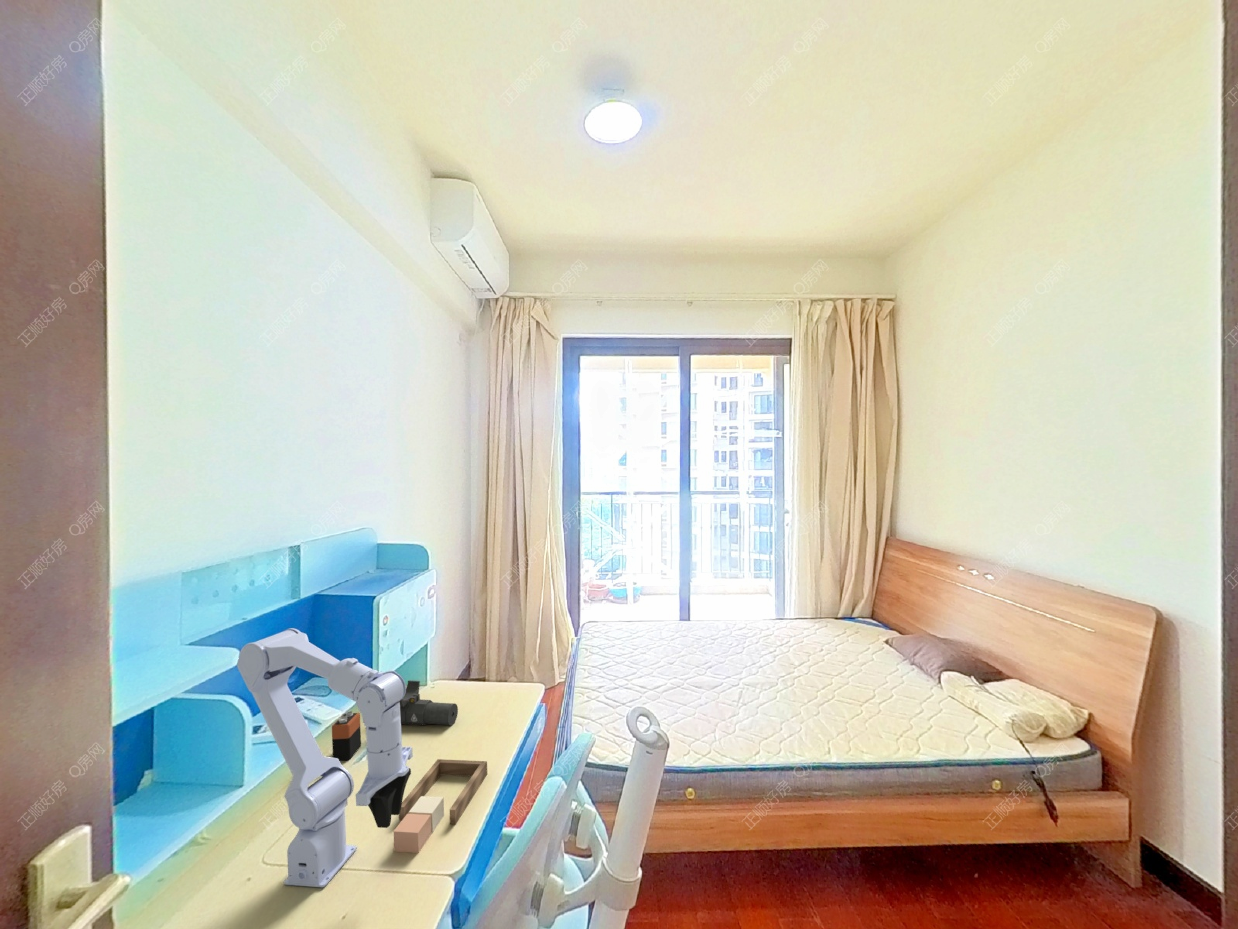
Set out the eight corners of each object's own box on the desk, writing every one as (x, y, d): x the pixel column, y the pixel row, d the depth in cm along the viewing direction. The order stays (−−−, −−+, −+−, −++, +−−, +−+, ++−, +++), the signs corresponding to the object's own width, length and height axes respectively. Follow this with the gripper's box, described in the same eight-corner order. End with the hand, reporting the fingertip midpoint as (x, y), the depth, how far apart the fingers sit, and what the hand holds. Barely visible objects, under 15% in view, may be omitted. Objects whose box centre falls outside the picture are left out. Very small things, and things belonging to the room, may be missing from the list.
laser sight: (444, 734, 143) (443, 698, 143) (371, 729, 147) (370, 694, 147) (461, 716, 153) (460, 682, 153) (392, 712, 157) (391, 679, 157)
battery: (332, 762, 131) (330, 722, 131) (345, 747, 138) (343, 709, 138) (349, 760, 131) (348, 721, 131) (361, 746, 138) (360, 708, 138)
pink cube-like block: (418, 853, 99) (418, 833, 99) (394, 852, 100) (393, 831, 100) (431, 835, 104) (430, 815, 104) (408, 833, 105) (407, 813, 104)
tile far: (432, 833, 104) (432, 813, 104) (409, 831, 105) (408, 812, 105) (444, 816, 109) (443, 797, 109) (421, 814, 110) (421, 796, 110)
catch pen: (455, 824, 106) (455, 810, 106) (399, 821, 108) (398, 806, 108) (487, 774, 123) (487, 761, 123) (438, 771, 125) (437, 759, 125)
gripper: (381, 768, 85) (386, 851, 85) (425, 724, 100) (429, 794, 100) (342, 768, 86) (347, 849, 86) (391, 724, 101) (395, 793, 101)
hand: (388, 820), depth 93 cm, fingers open, 3 cm apart
